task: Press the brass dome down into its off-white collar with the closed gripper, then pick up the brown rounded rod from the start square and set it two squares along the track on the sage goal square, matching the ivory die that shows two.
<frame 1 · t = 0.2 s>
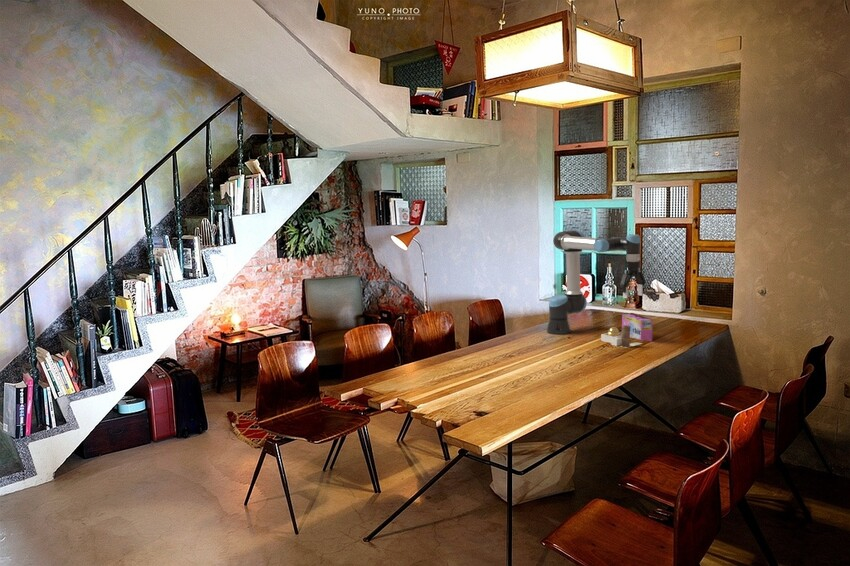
hand: (632, 296, 384), 27 cm above the table, fingers open, 13 cm apart
brown rounded rod: (625, 346, 372), point 1 cm above the table, touching board
dome collar: (613, 343, 387), resting on board
dome: (613, 332, 386), point 7 cm above the table, slide at 0.0 cm
gum box: (636, 338, 397), on the table
die: (616, 345, 377), resting on board
board: (620, 344, 382), on the table
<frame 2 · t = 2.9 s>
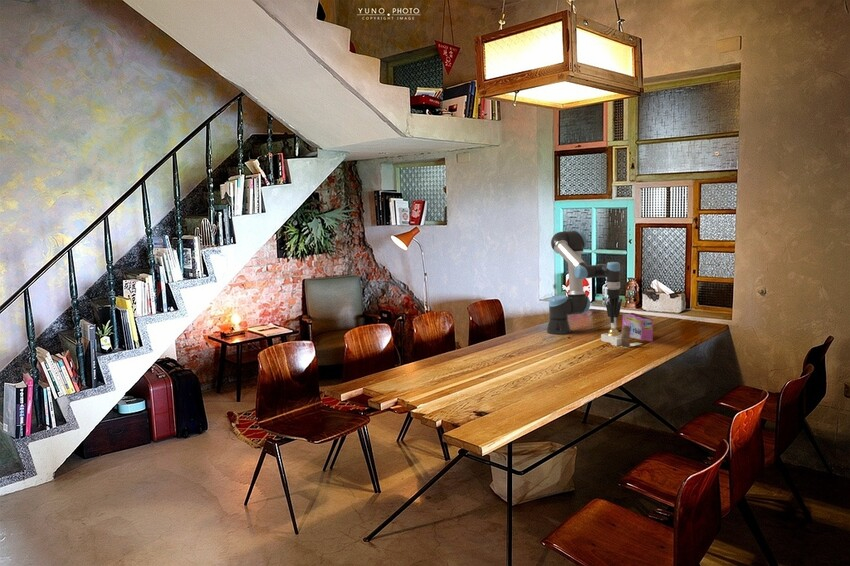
hand: (613, 328, 385), 9 cm above the table, fingers closed
dome: (613, 333, 386), point 6 cm above the table, slide at -0.8 cm, touching gripper
everything else where it was.
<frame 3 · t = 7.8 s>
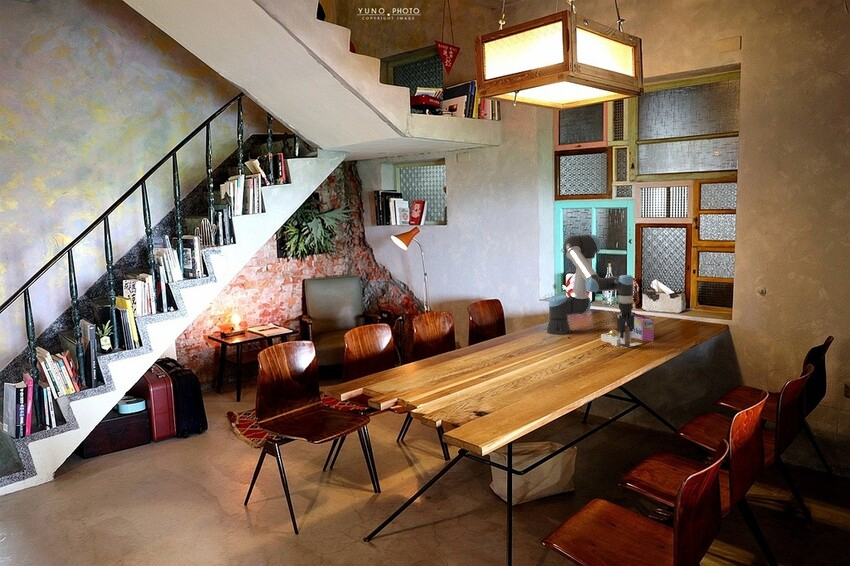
hand: (625, 342, 372), 3 cm above the table, fingers closed on brown rounded rod, 4 cm apart
brown rounded rod: (625, 346, 372), point 1 cm above the table, touching gripper
dome: (613, 334, 386), point 5 cm above the table, slide at -1.6 cm
everything else where it was.
when the fingers open (5 cm above the table, at t = 12.5 s): brown rounded rod stays where it is, resting on board.
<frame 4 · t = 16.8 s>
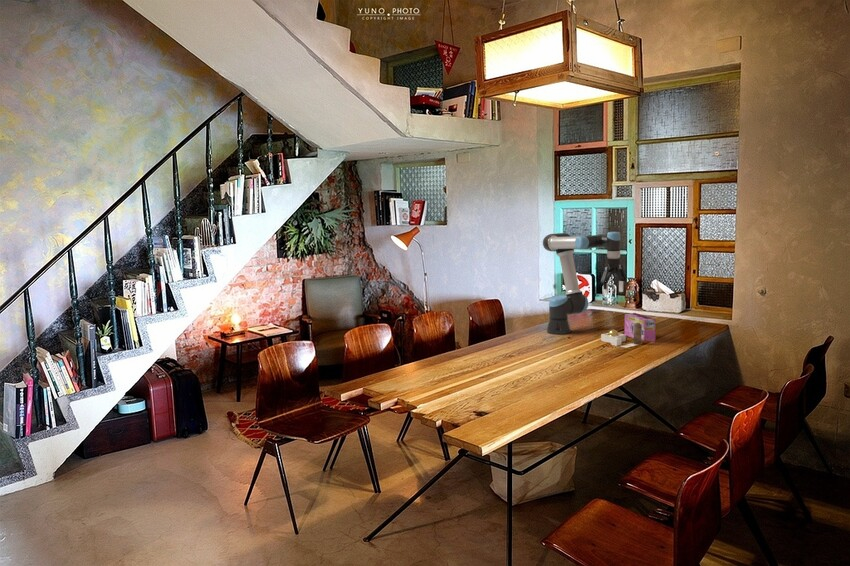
hand: (613, 293, 391), 29 cm above the table, fingers open, 13 cm apart
brown rounded rod: (637, 343, 378), point 1 cm above the table, touching board
at the end: dome slide at -1.6 cm; brown rounded rod 0.1 cm from the target spot, point 1.5 cm above the table; brown rounded rod tilted 2° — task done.
